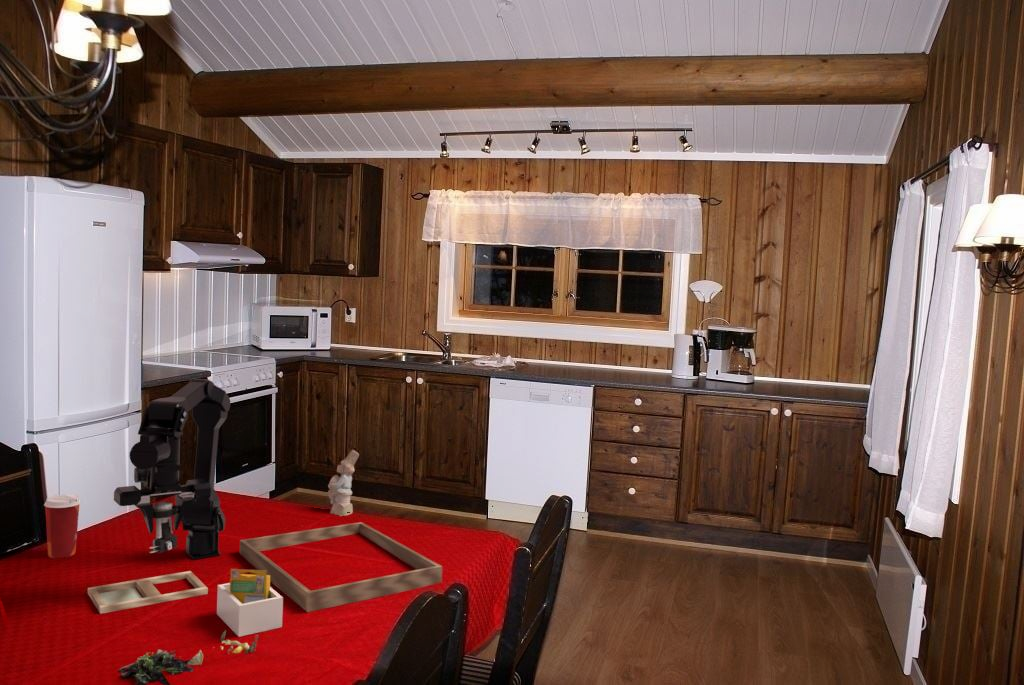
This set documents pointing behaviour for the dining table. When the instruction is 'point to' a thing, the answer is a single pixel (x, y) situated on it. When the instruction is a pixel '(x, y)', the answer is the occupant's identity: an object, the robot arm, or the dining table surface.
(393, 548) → the tray rim
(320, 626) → the dining table surface
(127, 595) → the wooden double frame
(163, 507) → the push button
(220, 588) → the crayon stand
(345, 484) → the figurine
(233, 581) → the crayon box
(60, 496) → the paper cup
